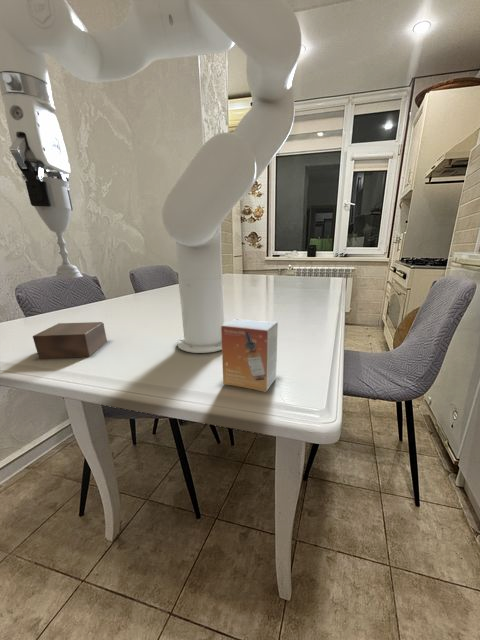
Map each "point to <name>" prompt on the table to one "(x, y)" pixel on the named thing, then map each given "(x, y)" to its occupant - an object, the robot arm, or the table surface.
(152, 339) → the table surface
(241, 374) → the small box
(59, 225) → the chalice
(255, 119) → the robot arm
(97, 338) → the walnut block
